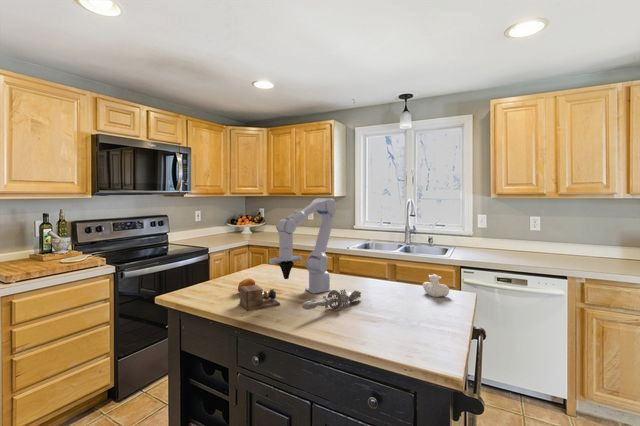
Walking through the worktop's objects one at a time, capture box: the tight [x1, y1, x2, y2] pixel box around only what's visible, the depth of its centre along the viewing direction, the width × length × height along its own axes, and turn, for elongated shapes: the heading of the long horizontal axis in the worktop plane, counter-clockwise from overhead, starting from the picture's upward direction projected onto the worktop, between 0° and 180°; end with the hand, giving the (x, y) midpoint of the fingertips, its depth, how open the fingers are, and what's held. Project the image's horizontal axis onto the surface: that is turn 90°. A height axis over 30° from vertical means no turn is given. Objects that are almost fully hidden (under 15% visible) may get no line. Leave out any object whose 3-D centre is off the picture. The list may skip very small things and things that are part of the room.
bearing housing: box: [239, 284, 281, 312], centre depth 135 cm, size 14×10×8 cm
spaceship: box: [301, 289, 363, 311], centre depth 130 cm, size 8×35×8 cm
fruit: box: [237, 277, 256, 293], centre depth 150 cm, size 8×8×8 cm
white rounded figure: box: [421, 273, 450, 298], centre depth 147 cm, size 12×8×11 cm
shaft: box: [263, 288, 277, 300], centre depth 135 cm, size 12×4×4 cm, turn 120°
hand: (286, 278), depth 141 cm, fingers closed
